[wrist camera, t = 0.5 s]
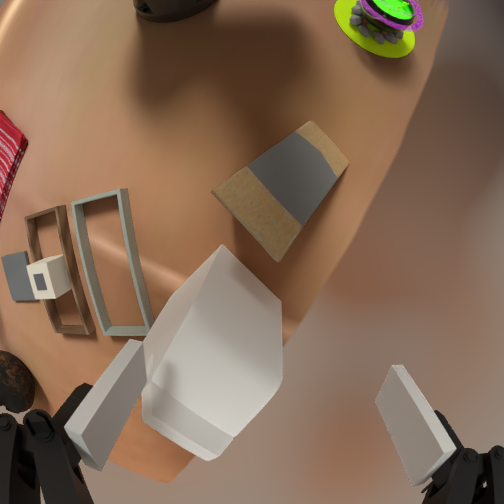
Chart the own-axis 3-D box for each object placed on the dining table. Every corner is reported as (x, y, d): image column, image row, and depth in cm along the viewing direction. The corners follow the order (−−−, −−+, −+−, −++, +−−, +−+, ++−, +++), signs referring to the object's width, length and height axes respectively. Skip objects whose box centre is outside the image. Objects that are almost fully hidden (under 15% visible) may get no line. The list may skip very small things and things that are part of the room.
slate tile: (3, 256, 40) (1, 257, 40) (26, 250, 40) (24, 251, 39) (15, 299, 43) (13, 300, 42) (39, 298, 42) (36, 300, 41)
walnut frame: (32, 215, 38) (24, 217, 36) (65, 204, 38) (56, 206, 35) (61, 327, 43) (54, 332, 41) (95, 328, 43) (89, 334, 40)
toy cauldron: (350, -17, 27) (367, -51, 16) (421, 26, 28) (450, 1, 17) (319, 25, 30) (334, -15, 19) (401, 74, 31) (436, 49, 21)
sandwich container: (351, 163, 35) (402, 152, 21) (271, 235, 38) (278, 266, 23) (310, 117, 34) (339, 79, 19) (229, 190, 37) (208, 191, 22)
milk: (281, 301, 40) (303, 447, 15) (227, 346, 42) (198, 488, 17) (222, 243, 38) (156, 344, 13) (171, 295, 40) (82, 414, 15)
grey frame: (79, 200, 37) (70, 202, 35) (127, 188, 37) (119, 188, 34) (109, 329, 42) (103, 335, 40) (156, 328, 42) (151, 335, 39)
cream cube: (46, 257, 40) (25, 266, 34) (67, 253, 40) (45, 262, 34) (54, 288, 41) (34, 299, 35) (75, 286, 41) (55, 298, 35)
